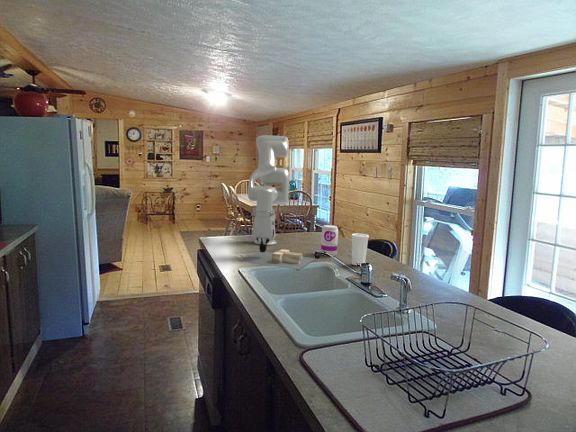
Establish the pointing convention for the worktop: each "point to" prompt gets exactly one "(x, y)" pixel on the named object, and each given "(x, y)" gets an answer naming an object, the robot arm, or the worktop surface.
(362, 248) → the cup
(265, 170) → the robot arm
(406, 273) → the worktop surface
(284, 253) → the t block
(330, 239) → the supplement can
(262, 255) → the mat
